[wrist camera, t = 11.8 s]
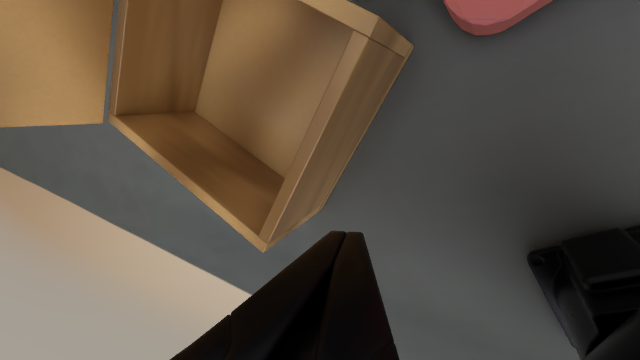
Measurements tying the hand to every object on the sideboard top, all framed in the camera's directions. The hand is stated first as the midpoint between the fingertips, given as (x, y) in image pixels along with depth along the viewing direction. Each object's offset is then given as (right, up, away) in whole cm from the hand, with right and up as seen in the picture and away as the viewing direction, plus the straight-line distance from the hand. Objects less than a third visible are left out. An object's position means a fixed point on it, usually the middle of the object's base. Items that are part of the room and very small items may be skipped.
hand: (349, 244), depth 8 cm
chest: (-4, +9, +15) cm, 18 cm away
